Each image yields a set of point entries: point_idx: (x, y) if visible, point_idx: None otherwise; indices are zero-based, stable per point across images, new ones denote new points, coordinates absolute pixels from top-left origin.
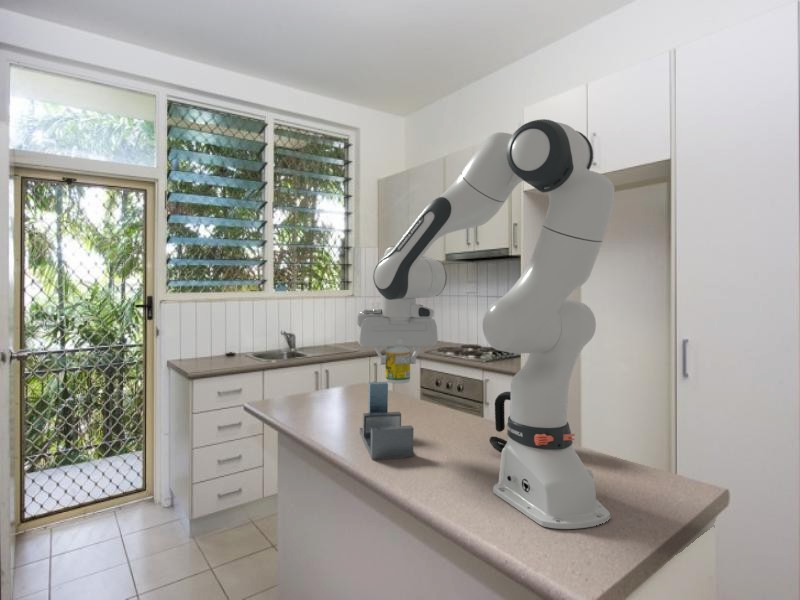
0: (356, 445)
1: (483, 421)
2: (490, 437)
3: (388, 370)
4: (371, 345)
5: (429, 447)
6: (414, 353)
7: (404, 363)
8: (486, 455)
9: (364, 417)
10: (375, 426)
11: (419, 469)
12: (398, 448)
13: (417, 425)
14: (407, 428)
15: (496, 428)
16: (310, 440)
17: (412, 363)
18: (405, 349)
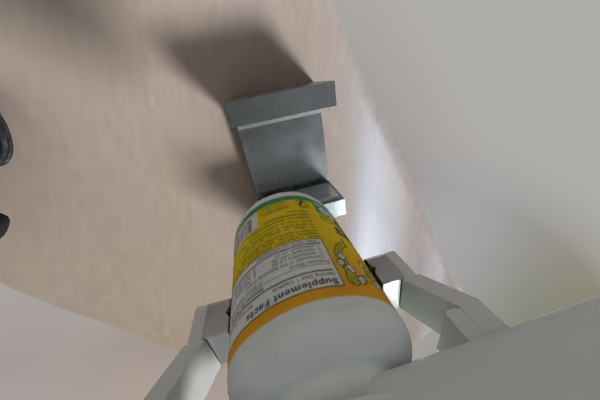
0: (338, 161)
1: (89, 309)
2: (4, 148)
3: (341, 231)
4: (580, 313)
5: (195, 157)
6: (196, 379)
7: (266, 255)
8: (39, 108)
9: (342, 197)
10: (313, 192)
11: (209, 14)
12: (261, 93)
13: (228, 269)
14: (241, 100)
15: (3, 219)
16: (408, 180)
17: (217, 302)
18: (269, 359)
